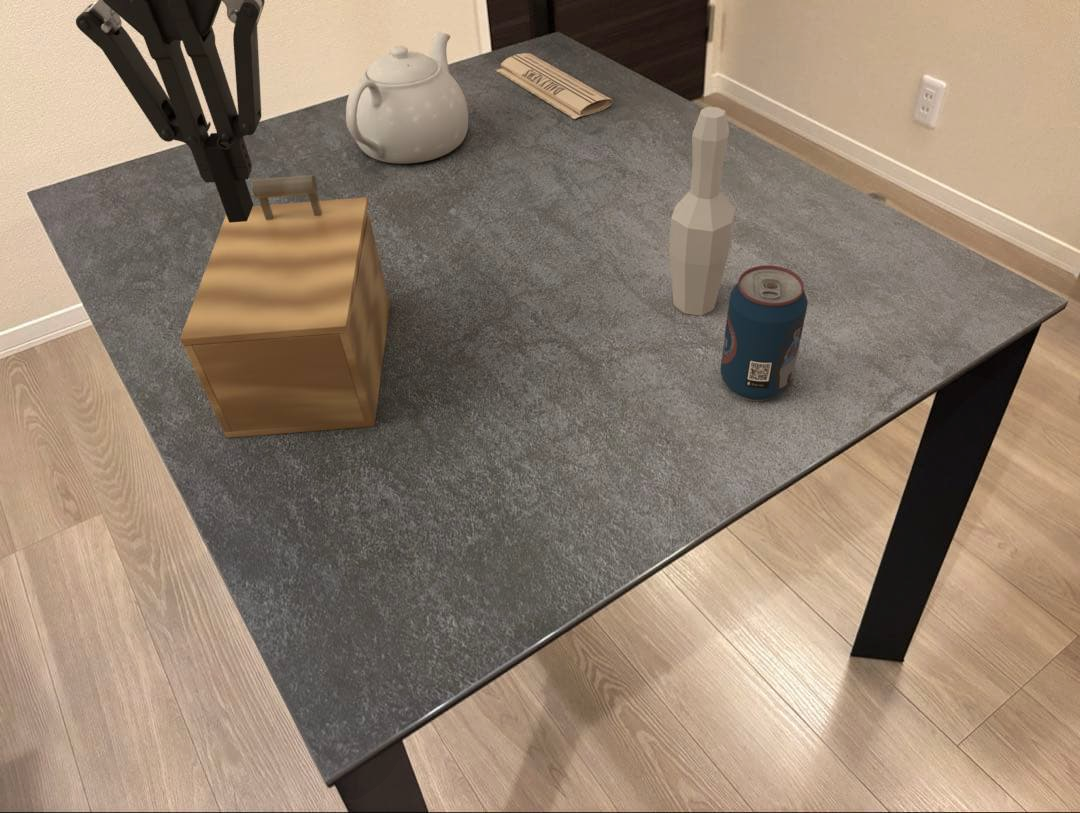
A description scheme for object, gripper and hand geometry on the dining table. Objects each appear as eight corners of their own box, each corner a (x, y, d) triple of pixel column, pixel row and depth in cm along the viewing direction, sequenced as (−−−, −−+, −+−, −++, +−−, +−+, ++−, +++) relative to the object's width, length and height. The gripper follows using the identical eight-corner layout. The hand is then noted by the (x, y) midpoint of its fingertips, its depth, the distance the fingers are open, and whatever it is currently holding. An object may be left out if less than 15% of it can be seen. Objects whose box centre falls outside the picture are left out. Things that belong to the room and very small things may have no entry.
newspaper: (612, 106, 128) (612, 95, 127) (574, 120, 126) (574, 108, 124) (531, 60, 143) (530, 49, 141) (496, 71, 140) (495, 60, 139)
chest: (263, 314, 95) (231, 226, 87) (390, 304, 95) (369, 215, 87) (226, 438, 81) (183, 346, 73) (374, 426, 81) (348, 333, 73)
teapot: (343, 127, 128) (321, 37, 119) (457, 105, 132) (446, 15, 122) (360, 183, 116) (338, 87, 106) (487, 157, 119) (477, 62, 109)
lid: (230, 214, 87) (213, 171, 83) (368, 203, 87) (358, 159, 83) (182, 345, 73) (160, 300, 69) (347, 332, 73) (334, 286, 69)
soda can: (721, 355, 85) (733, 258, 77) (791, 362, 84) (811, 264, 76) (716, 402, 81) (729, 303, 72) (790, 410, 79) (811, 310, 71)
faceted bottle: (706, 327, 89) (727, 134, 73) (655, 307, 92) (665, 118, 76) (734, 297, 92) (759, 106, 77) (684, 279, 95) (699, 92, 80)
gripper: (242, -132, 56) (325, 185, 72) (49, -117, 56) (175, 197, 72) (217, -106, 50) (312, 231, 67) (3, -89, 50) (151, 243, 67)
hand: (241, 213), depth 69 cm, fingers closed
